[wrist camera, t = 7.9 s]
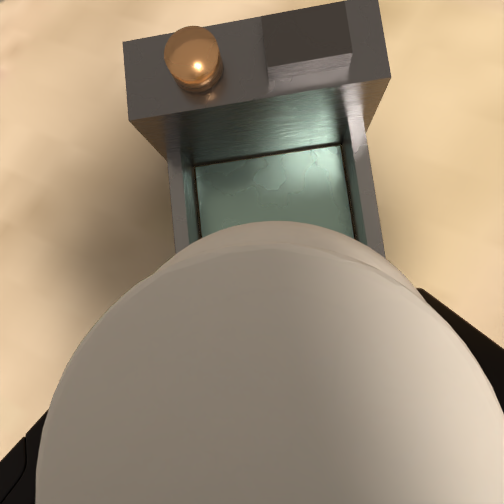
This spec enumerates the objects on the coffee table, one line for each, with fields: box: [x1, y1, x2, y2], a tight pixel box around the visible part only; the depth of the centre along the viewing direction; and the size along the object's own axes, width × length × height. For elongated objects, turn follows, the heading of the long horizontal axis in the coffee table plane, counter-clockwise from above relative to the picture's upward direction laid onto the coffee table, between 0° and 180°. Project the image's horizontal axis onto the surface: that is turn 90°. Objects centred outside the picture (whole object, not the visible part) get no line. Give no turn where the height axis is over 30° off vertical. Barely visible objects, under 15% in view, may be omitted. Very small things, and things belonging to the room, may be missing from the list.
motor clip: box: [123, 0, 391, 259], centre depth 19 cm, size 14×12×8 cm
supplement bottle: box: [35, 221, 504, 504], centre depth 10 cm, size 7×7×13 cm
